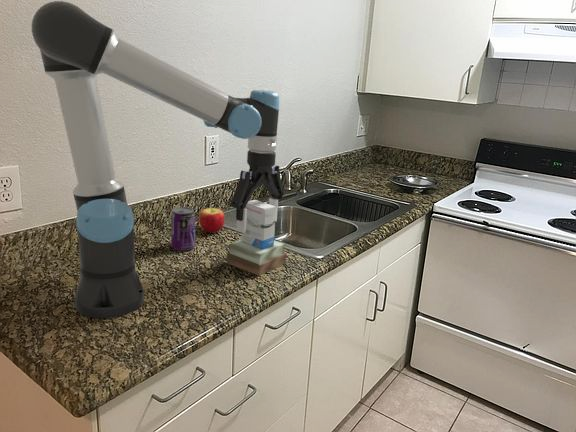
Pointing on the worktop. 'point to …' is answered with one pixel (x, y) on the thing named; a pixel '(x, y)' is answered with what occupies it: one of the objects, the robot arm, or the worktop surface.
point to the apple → (211, 219)
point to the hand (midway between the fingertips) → (257, 225)
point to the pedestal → (256, 257)
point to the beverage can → (182, 228)
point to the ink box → (259, 224)
